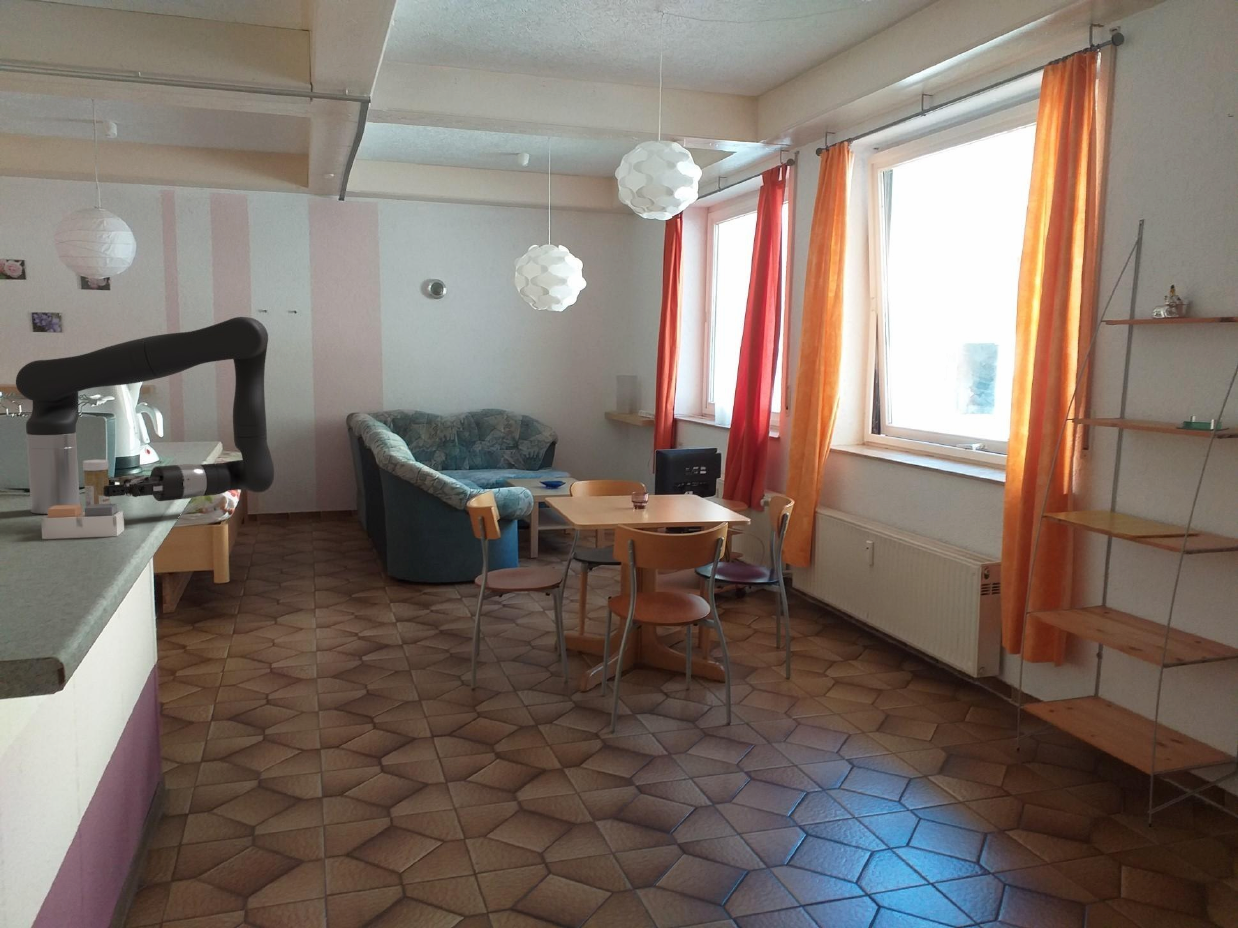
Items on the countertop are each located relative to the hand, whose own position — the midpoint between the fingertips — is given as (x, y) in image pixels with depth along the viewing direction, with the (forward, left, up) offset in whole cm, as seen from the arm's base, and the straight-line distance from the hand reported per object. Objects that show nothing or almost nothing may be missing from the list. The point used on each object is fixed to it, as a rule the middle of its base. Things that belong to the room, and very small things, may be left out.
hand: (96, 489), depth 184 cm
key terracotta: (+9, -3, -4) cm, 11 cm away
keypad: (+9, 0, -8) cm, 12 cm away
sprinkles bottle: (0, 0, -8) cm, 8 cm away
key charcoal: (+9, +3, -4) cm, 11 cm away
